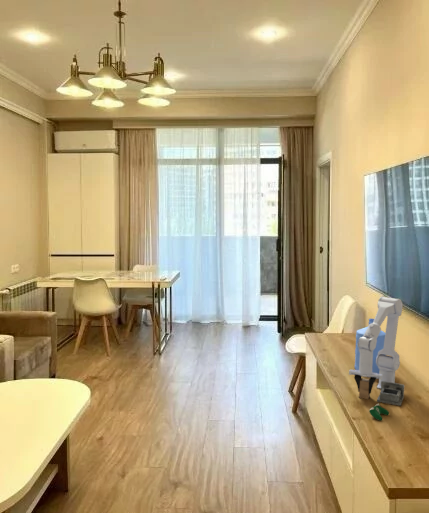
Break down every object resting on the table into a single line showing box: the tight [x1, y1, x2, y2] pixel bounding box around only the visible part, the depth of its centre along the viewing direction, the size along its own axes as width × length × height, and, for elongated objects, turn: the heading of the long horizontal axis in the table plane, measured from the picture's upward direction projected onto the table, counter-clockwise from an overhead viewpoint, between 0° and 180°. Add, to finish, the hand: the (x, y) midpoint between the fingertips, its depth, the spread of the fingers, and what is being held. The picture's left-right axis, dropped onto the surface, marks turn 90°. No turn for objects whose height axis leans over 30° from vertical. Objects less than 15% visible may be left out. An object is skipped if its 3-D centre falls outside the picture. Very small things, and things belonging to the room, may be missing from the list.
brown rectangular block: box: [358, 377, 371, 400], centre depth 231 cm, size 4×4×8 cm
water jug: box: [354, 318, 386, 374], centre depth 269 cm, size 16×16×28 cm
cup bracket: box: [376, 381, 405, 407], centre depth 229 cm, size 12×10×6 cm
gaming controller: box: [368, 402, 390, 422], centre depth 210 cm, size 9×4×6 cm
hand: (364, 392), depth 231 cm, fingers closed on brown rectangular block, 4 cm apart
